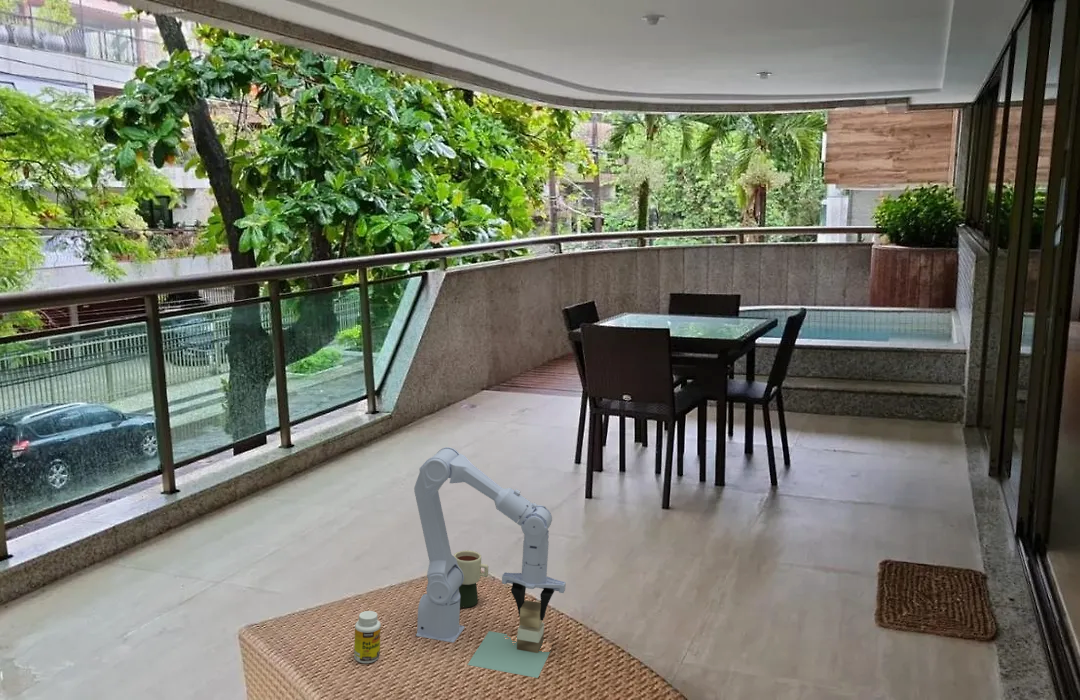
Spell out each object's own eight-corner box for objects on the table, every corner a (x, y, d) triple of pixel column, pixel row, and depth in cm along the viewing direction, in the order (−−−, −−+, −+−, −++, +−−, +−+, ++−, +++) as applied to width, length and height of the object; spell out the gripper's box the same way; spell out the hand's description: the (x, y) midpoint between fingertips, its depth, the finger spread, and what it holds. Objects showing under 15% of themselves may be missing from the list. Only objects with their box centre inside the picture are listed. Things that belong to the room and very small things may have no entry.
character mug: (489, 600, 217) (491, 552, 215) (483, 612, 210) (486, 563, 208) (448, 595, 219) (449, 548, 217) (441, 608, 212) (443, 559, 210)
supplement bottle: (359, 667, 183) (360, 622, 181) (350, 655, 187) (351, 612, 186) (383, 660, 186) (385, 617, 184) (374, 649, 190) (375, 606, 189)
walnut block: (516, 649, 193) (517, 639, 193) (522, 639, 198) (522, 629, 197) (537, 653, 192) (538, 642, 191) (543, 642, 197) (543, 632, 196)
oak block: (519, 625, 192) (520, 608, 191) (524, 616, 196) (525, 600, 196) (538, 628, 191) (539, 611, 190) (543, 619, 195) (544, 603, 195)
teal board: (467, 666, 185) (467, 664, 185) (489, 632, 201) (489, 631, 201) (537, 679, 182) (537, 677, 182) (554, 644, 197) (554, 642, 197)
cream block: (517, 639, 193) (517, 629, 192) (522, 629, 197) (523, 619, 197) (538, 642, 191) (539, 632, 191) (543, 632, 196) (544, 622, 196)
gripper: (499, 562, 189) (496, 619, 191) (562, 572, 186) (558, 629, 188) (507, 550, 196) (505, 605, 198) (568, 560, 193) (565, 615, 195)
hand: (531, 616), depth 194 cm, fingers closed on oak block, 4 cm apart
